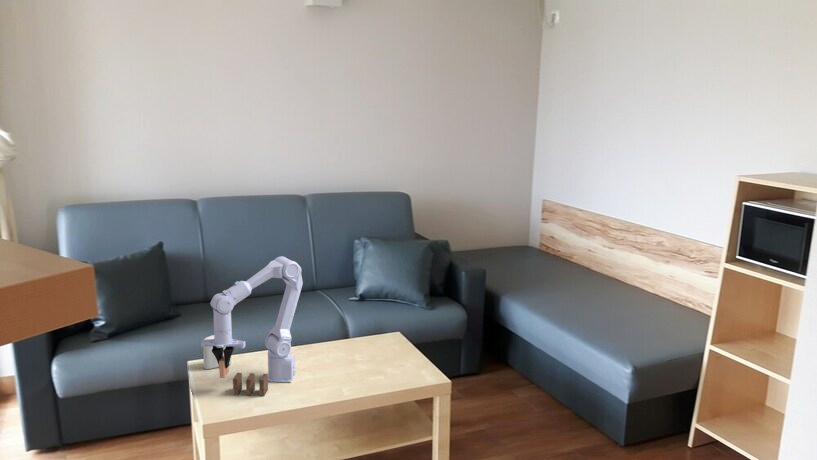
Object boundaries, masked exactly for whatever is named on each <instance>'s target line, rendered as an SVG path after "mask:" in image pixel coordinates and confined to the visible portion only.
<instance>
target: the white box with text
mask: <svg viewBox="0 0 817 460" xmlns="http://www.w3.org/2000/svg"><path fill="white" fill-rule="evenodd" d="M208 339H214V334H212V335H210V336H207V337H205V338H203V340H208ZM225 348H226V347H223V350H224V349H225ZM212 349H213V347H210V346H205V347H202V351H203V355H202V356H203V357H202V358H203V369H204V370H211V369H212V370H213V369H217V368H219V365H218V362H217V359H216V357H215V356H214V354H213V353H212ZM223 356H224V352H223ZM231 365H232V357H231V358H230V362H229V366H231Z"/></svg>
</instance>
